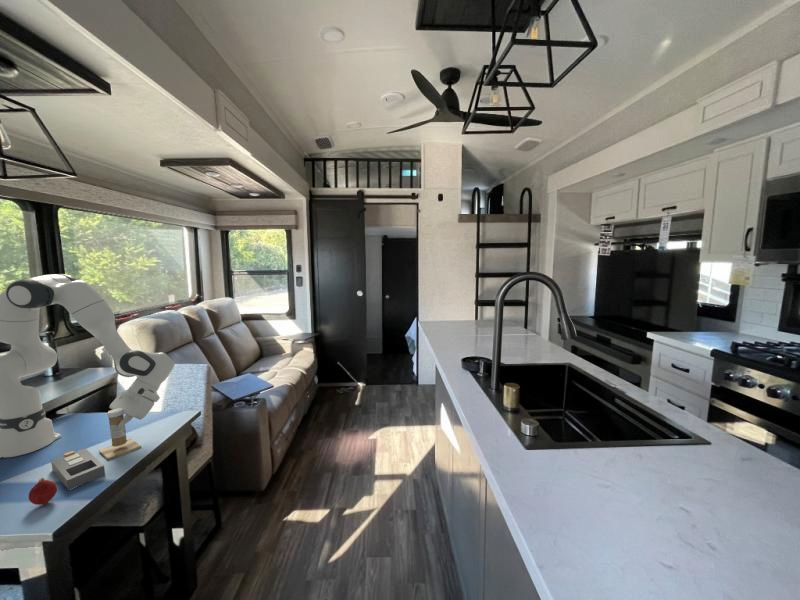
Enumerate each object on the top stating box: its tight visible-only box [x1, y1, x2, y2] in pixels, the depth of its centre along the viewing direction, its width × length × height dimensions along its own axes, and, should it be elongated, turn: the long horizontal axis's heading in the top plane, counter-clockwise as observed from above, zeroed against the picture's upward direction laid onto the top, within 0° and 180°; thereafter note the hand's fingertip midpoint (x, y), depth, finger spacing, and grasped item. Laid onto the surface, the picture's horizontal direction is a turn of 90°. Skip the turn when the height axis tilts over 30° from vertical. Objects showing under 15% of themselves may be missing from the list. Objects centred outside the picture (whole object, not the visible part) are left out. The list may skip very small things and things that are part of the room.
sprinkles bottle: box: [107, 408, 128, 447], centre depth 126 cm, size 5×5×14 cm
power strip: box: [50, 448, 106, 491], centre depth 115 cm, size 26×9×4 cm, turn 56°
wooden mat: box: [98, 438, 142, 461], centre depth 127 cm, size 10×10×1 cm
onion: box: [28, 477, 58, 506], centre depth 99 cm, size 6×6×8 cm
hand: (115, 425), depth 126 cm, fingers closed on sprinkles bottle, 4 cm apart
